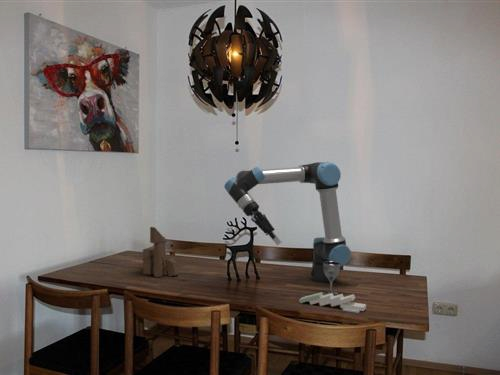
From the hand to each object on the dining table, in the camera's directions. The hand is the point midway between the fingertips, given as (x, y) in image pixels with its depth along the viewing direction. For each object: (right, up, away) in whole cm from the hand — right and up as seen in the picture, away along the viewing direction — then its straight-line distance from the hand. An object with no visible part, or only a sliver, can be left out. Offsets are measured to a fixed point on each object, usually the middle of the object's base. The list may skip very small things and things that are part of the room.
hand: (279, 243), depth 214 cm
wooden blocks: (-63, -23, +48) cm, 82 cm away
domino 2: (+14, -26, -6) cm, 30 cm away
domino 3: (+18, -26, -8) cm, 33 cm away
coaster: (+31, -27, -14) cm, 43 cm away
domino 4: (+23, -25, -11) cm, 36 cm away
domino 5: (+27, -25, -12) cm, 39 cm away
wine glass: (+26, -26, +10) cm, 38 cm away
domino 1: (+10, -25, -4) cm, 28 cm away
